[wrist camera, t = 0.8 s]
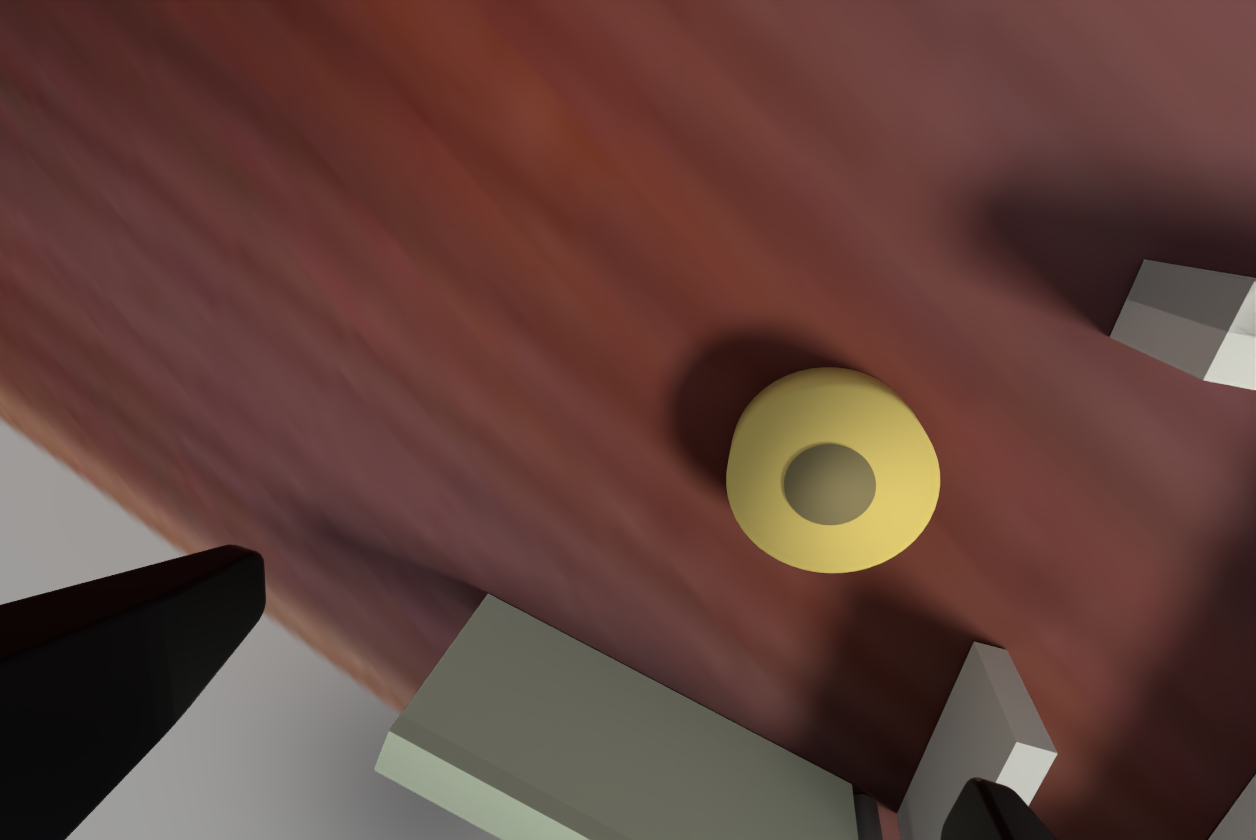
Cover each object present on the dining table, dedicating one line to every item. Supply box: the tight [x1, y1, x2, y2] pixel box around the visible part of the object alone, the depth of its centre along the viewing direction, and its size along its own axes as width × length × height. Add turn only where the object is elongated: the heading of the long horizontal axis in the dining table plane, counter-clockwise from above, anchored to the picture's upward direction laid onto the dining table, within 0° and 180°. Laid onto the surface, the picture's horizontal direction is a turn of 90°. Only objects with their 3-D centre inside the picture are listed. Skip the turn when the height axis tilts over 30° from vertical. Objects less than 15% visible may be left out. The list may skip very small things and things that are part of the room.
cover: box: [374, 594, 858, 840], centre depth 21 cm, size 15×2×7 cm, turn 67°
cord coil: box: [726, 367, 940, 573], centre depth 18 cm, size 6×6×2 cm
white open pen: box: [853, 259, 1256, 840], centre depth 16 cm, size 20×12×6 cm, turn 172°
